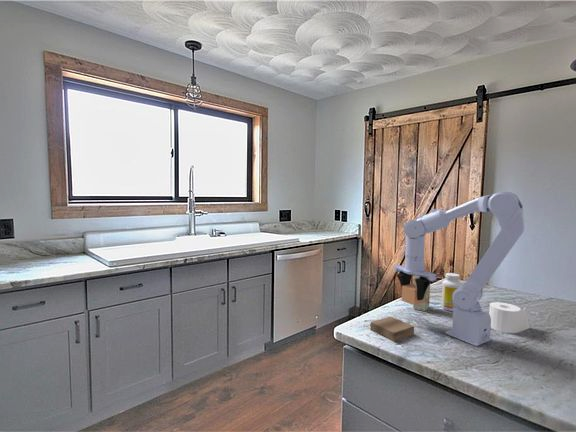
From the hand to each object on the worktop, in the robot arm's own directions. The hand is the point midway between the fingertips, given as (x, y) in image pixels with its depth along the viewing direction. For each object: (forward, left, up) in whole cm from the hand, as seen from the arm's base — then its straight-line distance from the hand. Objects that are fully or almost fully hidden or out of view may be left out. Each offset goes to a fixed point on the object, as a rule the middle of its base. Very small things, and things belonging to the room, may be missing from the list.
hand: (413, 297), depth 107 cm
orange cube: (0, 0, -2) cm, 2 cm away
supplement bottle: (+1, -23, -9) cm, 25 cm away
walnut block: (-2, +12, -9) cm, 15 cm away
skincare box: (+7, -14, -9) cm, 18 cm away
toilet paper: (-19, -23, -9) cm, 31 cm away
